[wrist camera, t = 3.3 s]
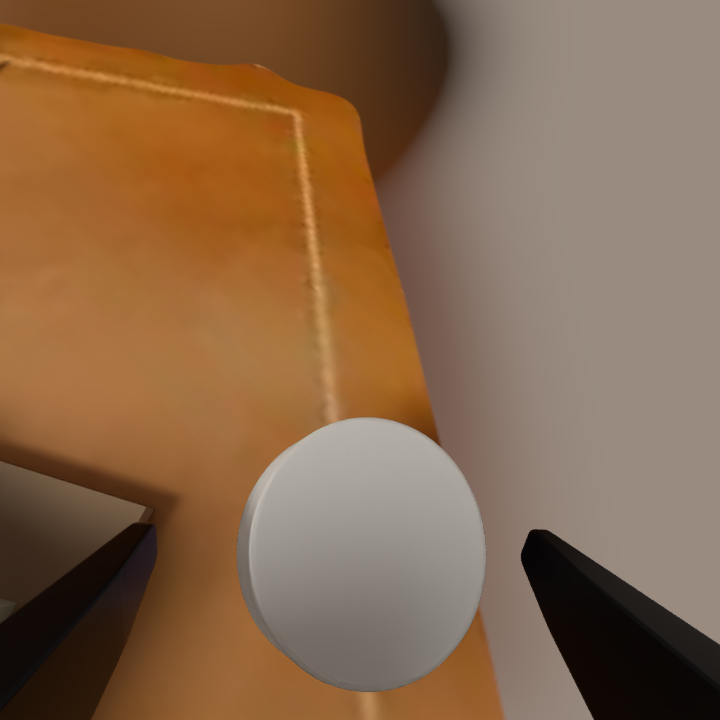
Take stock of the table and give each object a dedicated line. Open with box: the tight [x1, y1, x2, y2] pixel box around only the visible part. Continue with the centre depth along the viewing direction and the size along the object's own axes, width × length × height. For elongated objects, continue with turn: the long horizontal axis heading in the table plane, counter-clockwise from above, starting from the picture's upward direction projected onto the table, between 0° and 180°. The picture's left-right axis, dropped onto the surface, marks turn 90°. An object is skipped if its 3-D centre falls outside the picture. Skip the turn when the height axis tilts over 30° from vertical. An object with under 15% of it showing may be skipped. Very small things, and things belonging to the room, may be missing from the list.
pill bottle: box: [237, 417, 486, 692], centre depth 11 cm, size 6×6×10 cm
